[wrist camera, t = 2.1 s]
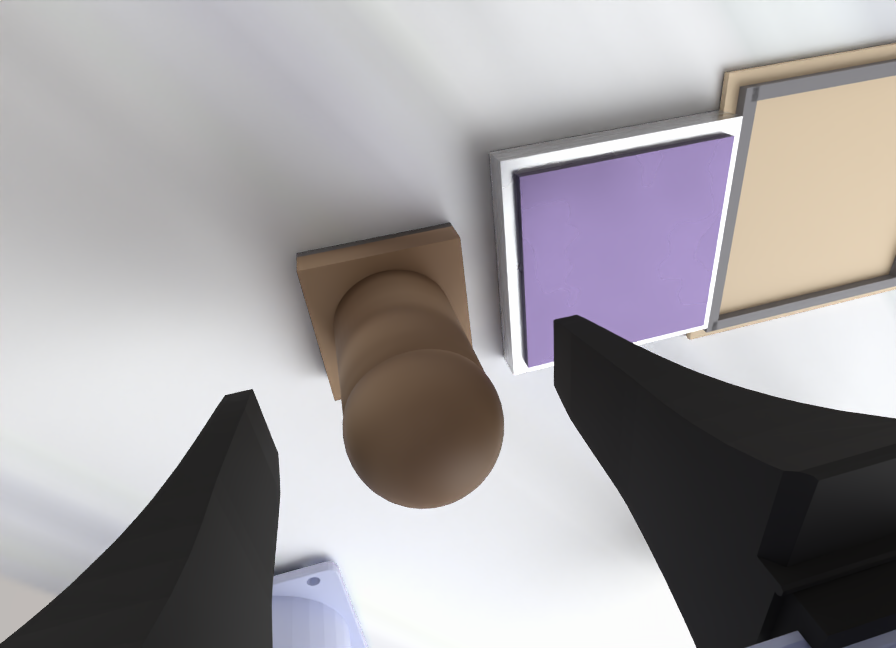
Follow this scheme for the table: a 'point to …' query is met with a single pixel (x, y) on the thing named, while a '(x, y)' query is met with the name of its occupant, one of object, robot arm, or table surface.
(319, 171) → the table surface
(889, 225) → the beige square tile
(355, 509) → the table surface
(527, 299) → the ink pad
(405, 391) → the stamp
